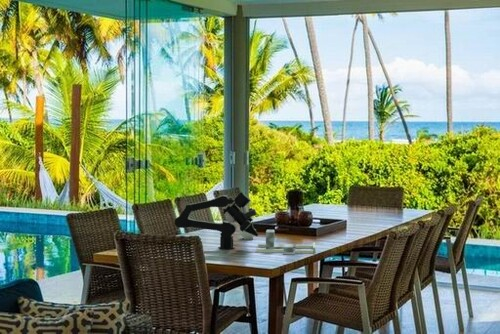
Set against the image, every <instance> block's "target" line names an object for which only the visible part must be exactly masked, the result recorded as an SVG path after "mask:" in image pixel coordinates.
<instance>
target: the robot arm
mask: <svg viewBox="0 0 500 334" xmlns="http://www.w3.org/2000/svg"><path fill="white" fill-rule="evenodd" d="M250 202H251V198H249V196H248V195H247V194H245V193H244V192H242V191H240V192H239V193H238V195H237V196H236V197H235V198H234V197H233V198H232V197H229V196H228V195H226V194H222V195H220V196H216V197H215V198H212V199H208V200H204V201H200V202H195V203H188V204H187V205H186V206H185V207H184V209H183V211H182V212H181V214H180V215H178V216H177V217H176V218H175V219H174V221H173V222H174V226H175V227H177V228H179V229H181V228H182V229H183V228H184V229H185V228H195V229H204V230H210V231H211V230H212V231H217V232H220V238H219V243H220V244H219V246H218V247H217V249H221V250H231V249H232V250H233V249H236V247H235V246H234V236H233V235H234V234H235V232H237V225H239V231H240V230H241V231H242V232H243V231H245V232H248V233H250V234H252V235H254V237H259V233H258V232H257V229H256V228H255V227H254V221H253V220H254V219H253V217H256V216H257V211H256V208H252V207H250V208H248V211H246V212H245V211H242V210H241V208H242V209H244V208H245V207H246V206H247V205H248V204H249V203H250ZM210 208H223V209H222V210H223V215H225V214H228V215H229V216H230V217H231V218H232V219H233V221H234V222H236V223H237V225H236V224H235V223H234V222H232V220H229V221H228V220H223V221H222V222H213V221H205V220H199V219H198V220H197V219H193V218H192V217H191V218H190V217H189V216H190V215H191V213H192V212H195V211H201V210H205V209H210ZM255 229H256V230H255Z"/></svg>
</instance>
